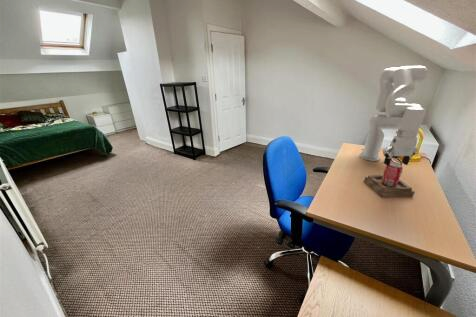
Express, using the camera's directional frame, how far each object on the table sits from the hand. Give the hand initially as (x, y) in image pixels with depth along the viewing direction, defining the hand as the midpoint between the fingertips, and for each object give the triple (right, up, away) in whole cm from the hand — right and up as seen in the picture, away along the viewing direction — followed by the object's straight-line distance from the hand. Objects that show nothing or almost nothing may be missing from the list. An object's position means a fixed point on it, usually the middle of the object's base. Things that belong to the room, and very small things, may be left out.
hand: (395, 164), depth 105 cm
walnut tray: (0, -14, +6) cm, 15 cm away
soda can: (0, -11, +5) cm, 12 cm away
